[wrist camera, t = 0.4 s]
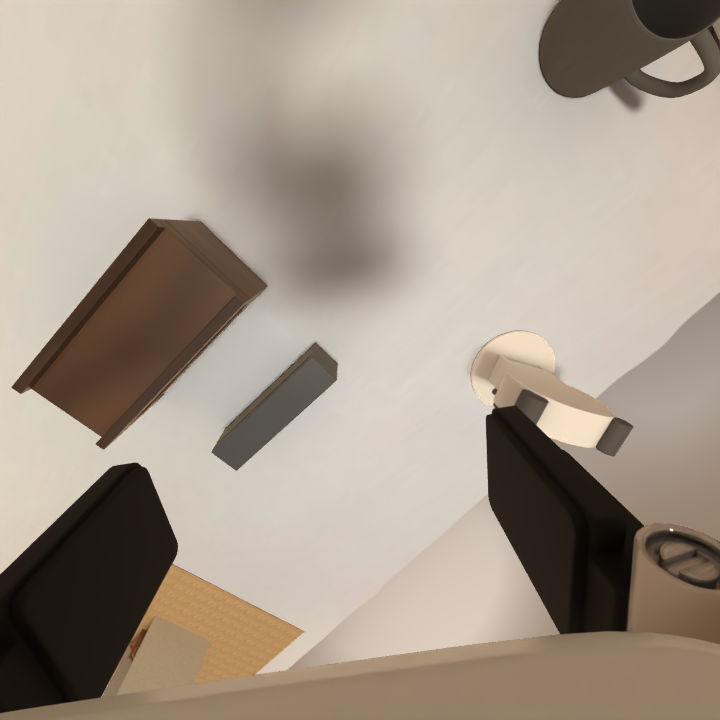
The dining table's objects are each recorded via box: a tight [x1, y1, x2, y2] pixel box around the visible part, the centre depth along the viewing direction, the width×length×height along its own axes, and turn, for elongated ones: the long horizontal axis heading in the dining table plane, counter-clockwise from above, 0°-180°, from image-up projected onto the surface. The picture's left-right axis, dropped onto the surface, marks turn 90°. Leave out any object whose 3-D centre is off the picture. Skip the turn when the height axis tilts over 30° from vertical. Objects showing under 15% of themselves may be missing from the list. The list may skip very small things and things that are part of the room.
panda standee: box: [471, 331, 633, 456], centre depth 41 cm, size 12×11×15 cm
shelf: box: [12, 218, 267, 449], centre depth 38 cm, size 10×22×11 cm, turn 133°
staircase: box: [102, 615, 210, 697], centre depth 55 cm, size 9×11×17 cm
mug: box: [540, 0, 720, 98], centre depth 31 cm, size 14×9×12 cm
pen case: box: [212, 343, 337, 471], centre depth 45 cm, size 4×18×6 cm, turn 133°
